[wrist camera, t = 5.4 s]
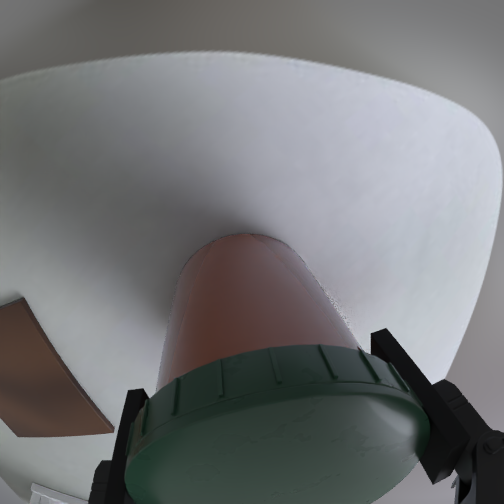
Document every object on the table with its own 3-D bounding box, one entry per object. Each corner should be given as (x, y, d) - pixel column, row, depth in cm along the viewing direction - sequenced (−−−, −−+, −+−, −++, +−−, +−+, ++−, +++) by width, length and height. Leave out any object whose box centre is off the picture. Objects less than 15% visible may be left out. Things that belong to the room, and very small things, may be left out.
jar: (152, 260, 18) (87, 432, 7) (295, 214, 18) (415, 341, 7) (204, 368, 22) (208, 533, 10) (323, 332, 22) (400, 481, 10)
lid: (191, 514, 11) (192, 546, 9) (75, 379, 8) (54, 426, 6) (393, 467, 12) (407, 495, 10) (420, 297, 8) (460, 333, 6)
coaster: (-58, 330, 18) (-61, 333, 18) (24, 297, 18) (20, 301, 18) (19, 433, 23) (17, 437, 23) (114, 428, 23) (113, 432, 23)
